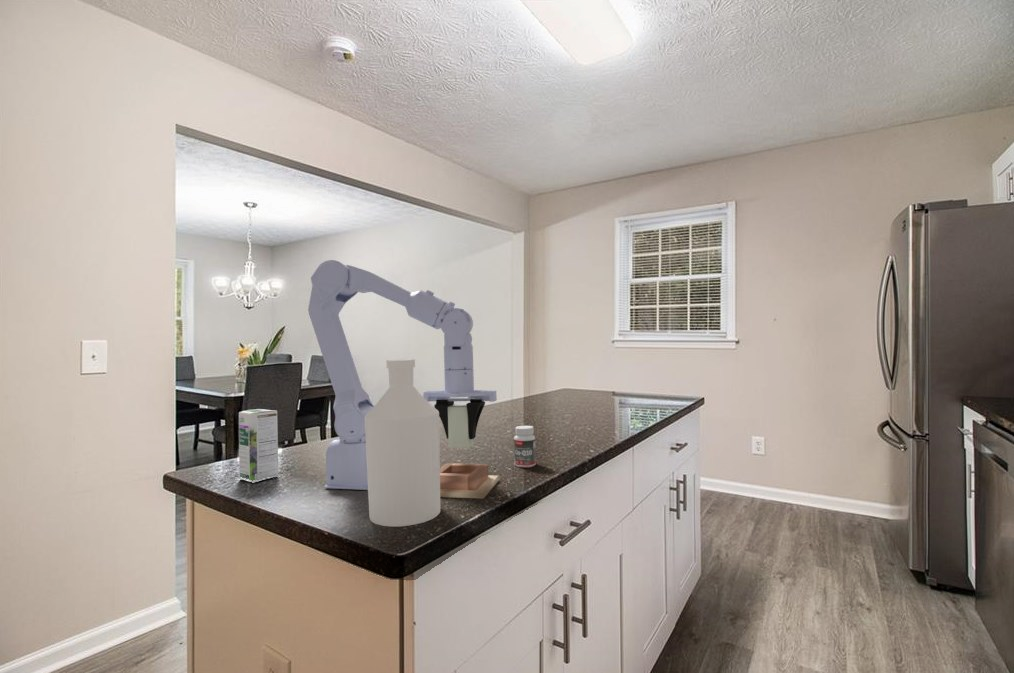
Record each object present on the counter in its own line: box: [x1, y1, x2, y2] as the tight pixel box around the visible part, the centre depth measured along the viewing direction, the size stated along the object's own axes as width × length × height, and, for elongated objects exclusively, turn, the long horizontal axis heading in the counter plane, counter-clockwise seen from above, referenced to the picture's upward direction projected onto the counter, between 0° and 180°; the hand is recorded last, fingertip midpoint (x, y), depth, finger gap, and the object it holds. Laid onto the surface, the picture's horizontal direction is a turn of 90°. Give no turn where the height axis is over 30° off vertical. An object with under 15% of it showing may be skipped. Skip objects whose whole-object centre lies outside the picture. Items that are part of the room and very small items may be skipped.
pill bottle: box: [513, 425, 537, 468], centre depth 108 cm, size 5×5×8 cm
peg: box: [447, 404, 475, 450], centre depth 97 cm, size 4×4×8 cm
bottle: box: [365, 358, 441, 527], centre depth 80 cm, size 12×12×25 cm
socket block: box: [440, 462, 500, 500], centre depth 92 cm, size 12×11×4 cm
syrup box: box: [238, 408, 279, 481], centre depth 103 cm, size 6×6×14 cm
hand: (461, 438), depth 97 cm, fingers closed on peg, 4 cm apart
